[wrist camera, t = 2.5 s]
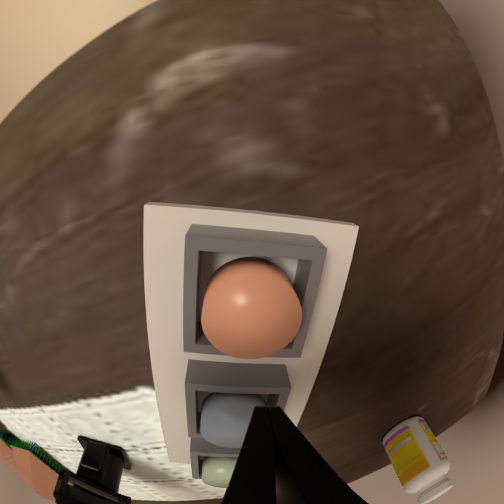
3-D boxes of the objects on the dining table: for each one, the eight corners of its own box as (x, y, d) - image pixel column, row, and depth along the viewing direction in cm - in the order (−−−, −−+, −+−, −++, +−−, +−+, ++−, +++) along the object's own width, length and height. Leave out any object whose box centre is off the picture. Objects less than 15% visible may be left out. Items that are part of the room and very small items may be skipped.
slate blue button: (261, 425, 20) (264, 448, 18) (201, 423, 19) (200, 446, 17) (271, 388, 18) (276, 413, 16) (201, 385, 18) (199, 410, 15)
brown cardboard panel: (24, 427, 25) (8, 461, 17) (132, 507, 36) (128, 533, 28) (-21, 417, 26) (-34, 440, 18) (69, 494, 37) (63, 515, 29)
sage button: (248, 470, 23) (250, 488, 21) (202, 469, 23) (202, 486, 20) (254, 451, 21) (256, 471, 19) (202, 450, 21) (201, 470, 19)
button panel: (277, 459, 27) (281, 481, 23) (170, 454, 25) (167, 477, 22) (352, 222, 17) (377, 238, 14) (148, 202, 16) (129, 213, 13)
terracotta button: (284, 335, 17) (291, 360, 14) (203, 330, 16) (200, 356, 14) (299, 260, 15) (311, 279, 13) (207, 252, 15) (203, 270, 12)
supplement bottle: (375, 447, 29) (403, 515, 17) (390, 422, 26) (428, 498, 14) (411, 434, 29) (443, 494, 17) (429, 408, 27) (469, 473, 15)
